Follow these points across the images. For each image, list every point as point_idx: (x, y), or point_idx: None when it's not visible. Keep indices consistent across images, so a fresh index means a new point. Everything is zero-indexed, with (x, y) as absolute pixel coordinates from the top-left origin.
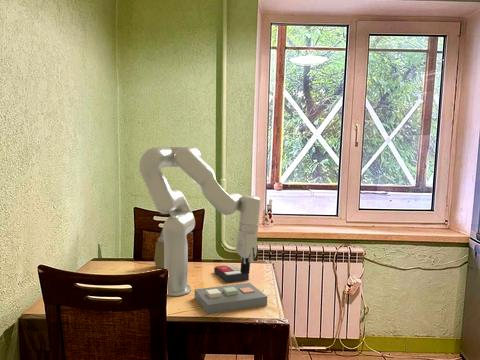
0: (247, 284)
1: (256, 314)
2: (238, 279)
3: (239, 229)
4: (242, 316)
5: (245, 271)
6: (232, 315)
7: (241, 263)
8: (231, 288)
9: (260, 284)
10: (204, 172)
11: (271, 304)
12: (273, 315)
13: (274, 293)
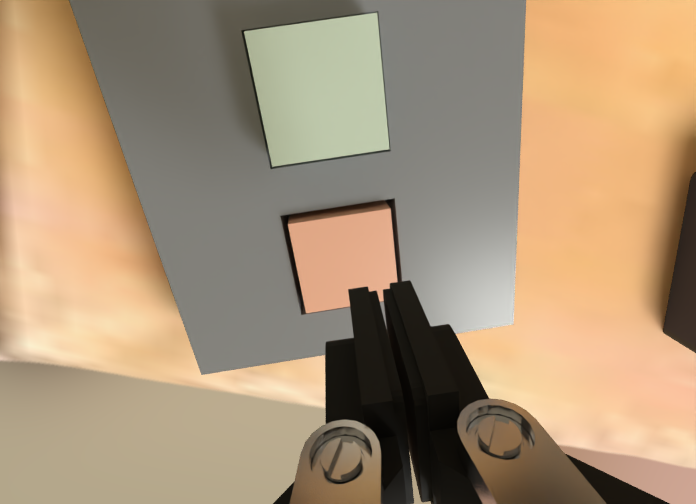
0: (481, 299)
1: (63, 232)
2: (690, 270)
3: None
4: (17, 118)
5: (328, 352)
6: (30, 36)
7: (430, 388)
8: (342, 111)
9: (560, 380)
10: None
11: None
12: (53, 330)
13: None
